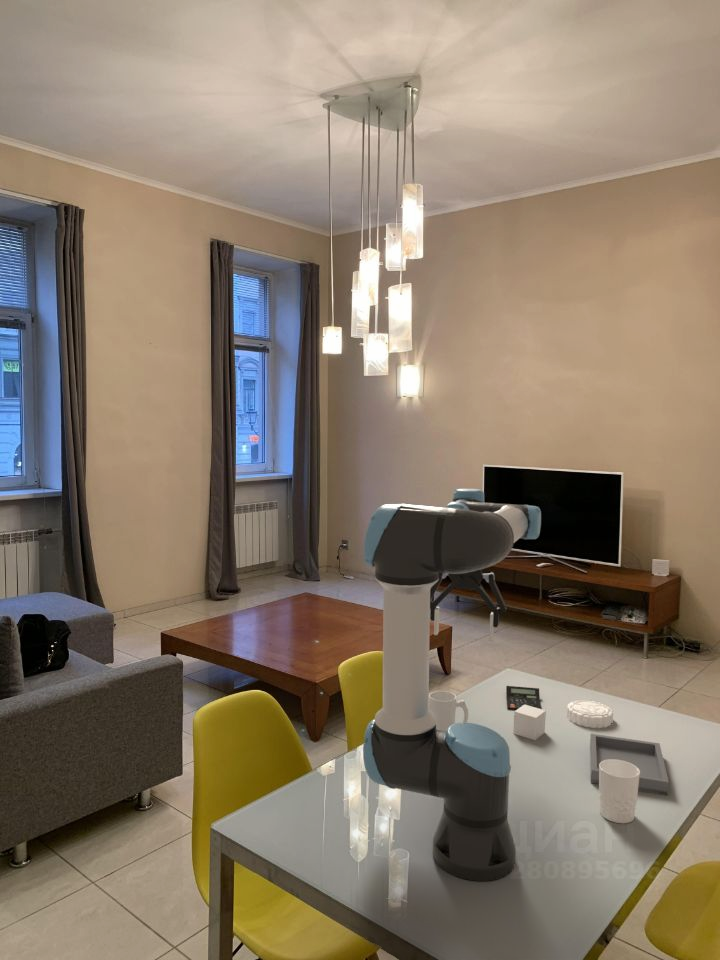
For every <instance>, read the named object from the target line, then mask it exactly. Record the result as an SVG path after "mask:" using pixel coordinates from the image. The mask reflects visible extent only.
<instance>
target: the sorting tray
mask: <svg viewBox="0 0 720 960" xmlns="http://www.w3.org/2000/svg"><path fill="white" fill-rule="evenodd" d="M589 736H590V739H589V758H590V761H589V763H590V764H589V765H590V767H589V769H590V784H594V785H595V784H597V785H599V764H600V762H602V761H604V760H608V759H616V760H622V761H626V762H629V763H631V764H633V765H635V766H636V767H637V768H638V769H639V770H640V777H639V787H638V792H643V793H651V794H656V793H657V795H662V794H664V795H663V796H668V795H669V785H670V784H669V777H668V773H667V768H666V764H665V760H664V757H663V752H662V748H661V744H660V743H658V742H652V741H646V740H637V739H632V738H625V737H619V736H612V735H611V736H610V735H603V734H598V733H597V734H596V733H590V735H589Z"/></svg>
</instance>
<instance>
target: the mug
mask: <svg viewBox="0 0 720 960" xmlns="http://www.w3.org/2000/svg"><path fill="white" fill-rule="evenodd" d="M457 708H461V709H462V711H463V714H464V715H463V718H462V719H463V720H462V722H461V723H462V724H464V723H468V720H469V709H468V707H467V704H466V701H465V700H464V699H462V700H461V699H460V700H458V701H457V695H456V694H454V693H453V692H450V691H445V690H444V691H443V690H435V691H433V692H429V698H428V709H429V710H430V711H431V712H432V713H433V714H434V715H435V717H436V729H437V730H442V731H447V729H448V727H449V726H451V725H452V724H455V723H456V709H457Z"/></svg>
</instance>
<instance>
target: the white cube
mask: <svg viewBox="0 0 720 960" xmlns="http://www.w3.org/2000/svg"><path fill="white" fill-rule="evenodd" d="M513 711H514V714H513V730H512V731H513V733H512V734H514V735H517V736H519V737H522V738H526V739H529V740H534V741H536V740H537V739H539V738H540V737H541V736H543V734H545V733H546V715H547V714H546V713H547V710H545V709H539V708H535V707H531V706H528V705H523V706H522V707H520V708H519V709H517V710H513Z"/></svg>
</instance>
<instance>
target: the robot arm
mask: <svg viewBox="0 0 720 960" xmlns="http://www.w3.org/2000/svg"><path fill="white" fill-rule="evenodd" d="M373 512H374V513H372V516H371V518H370V520H369V522H368V525H367V528H366V531H365V536H364V541H363V557H364V562H365V564H366V565H367V566H370V567H372V568H374V569H375V571H374V576H375V577H374V578H375V580H376V582H378V583H379V584H380V585H381V587H382V588H383V589H382V591H383V598H382V599H383V601H382V603H383V605H382V606H383V607H382V610H383V611H382V612H383V613H382V615H383V618H382V619H383V620H382V626H383V628H382V708H380V709H379V710H378V711H377V712H376V713H375V715H374V719H371V720H370V721H369V722H368V724H367V727H366V729H365V732H364V736H363V737H364V743H363V747H362V752H363V753H362V755H363V764H364V769H365V772H366V774H367V776H368V778H370V780H371V781H372V782H373V783H374V784H378V785H381V786H386V787H387V788H389V789H393V790H394V789H399V790H403V791H407V792H411V793H416V794H422V795H426V796H431V797H437V798H440V799H443V811H442V815H441V818H440V820H439V823H438V825H437V827H436V830H435V832H434V836H433V839H432V856H433V858H434V861H435V862H436V864H437V865H438V866H439V867H440V868H441V869H443V870H444V871H445V872H447V873H449V874H451V875H452V876H456V877H458V878H461V879H465V880H469V881H478V882H488V881H494V880H498V879H501V878H503V876H504V877H505V875H506V876H507V875H509V874H510V873H511V872H512V871H513V870H512V869H514V868H515V866H516V858H517V857H516V854H517V851H516V850H517V849H516V845H515V840H514V837H513V835H512V829H511V826H510V824H509V820H508V810H509V791H510V789H509V788H510V787H509V786H510V774H511V771H512V770H511V768H512V765H511V755H510V754H511V753H510V752H511V751H510V747H509V744H508V742H507V741H506V739H505V738H504V737H502V736H501V734H499V733H498V732H497V731H495V730H493V729H492V728H489V727H487V726H484V725H481V724H478V723H473V722H467V723H464V724H462V722H457V723H456V722H455V724H452V725H451V726H449V727H448V729H447V731H442V730H437V729H436V717H435V715H434V714H433V713H432V712H431V711H430V710H429V694H430V691H429V689H430V685H429V684H430V683H429V682H430V681H429V680H430V637H431V636H430V626H431V623H430V621H431V622H434V625H433V635H434V636H438V634H439V632H440V610H441V609H440V606H438V605H439V604H440V603H441V602H442V601H443V600H444V599H445V598H446V597H447V596H448V595H449V594H450V592H451V591H452V590H454V588H456V589H458V590H462V591H463V590H466V591H472V590H474V591H475V592H476V593H477V594H478V595H479V596H480V597H481V599H482V600H483V602H484V603H485V604H486V605H487V607H488V608H489V609H490V611H491V613H490V614H489V637H488V638H489V639H488V641H489V642H493V640H494V632H495V630H494V629H495V628H498V627H499V623H500V621H499V619H500V614H503V613H506V612H507V609H508V608H507V604H506V603H505V601H504V598H503V596H502V594H501V592H500V589H499V587H498V585H497V583H496V579H495V578H496V576H495V572H493V571H491V572H490V573H483V570H484V569H487V568H490V567H492V566H495V565H496V564H498V563H501V561H503V560H504V559H505V558H506V557H507V556H509V554H510V553H511V551H512V549H513V546H514V544H515V543H516V542H517V541H518V540H519V539H523V540H536V539H538V538H539V536H540V533H541V527H542V511H541V509H540V507H539V506H536V505H529V504H511V503H495V502H485V492H484V491H483V490H482V489H479V488H478V489H477V488H456V489H455V490H454V492H453V498H452V501H451V502H449V503H447V504H446V505H445V506H444V507H442V506H430V505H429V506H428V505H417V504H406V503H397V504H396V503H394V504H393V503H389V504H383V505H381V506H379V507H378V508H377V509H376V510H374V511H373ZM447 576H448V577H449V579H450V580H451V583H450V584H448V586H447V587H446V588H445V589H444V590H443V591H442V592H441V593H440V594H439V595H438V596H437V597H435V599H434V600H432V599H433V596H434V595H435V593H436V592H437V590H438V588H439V586H440V584H441V583H442V581H443V579H444V580H445V579H446V578H447ZM483 579H484V580H485V582H486V583H488V585H489V587H490V590H491V593H492V594H493V597H494V598H495V600H496V603H497V605H496V603H495V601H494V600H493V599H492V598H491V597H490V595H489V594H488V593H487V591H486V589H484V586H483V585H482V584H481V582H482V580H483ZM514 865H515V866H514ZM513 867H514V868H513ZM511 870H512V871H511ZM509 872H510V873H509ZM508 873H509V874H508Z"/></svg>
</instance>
